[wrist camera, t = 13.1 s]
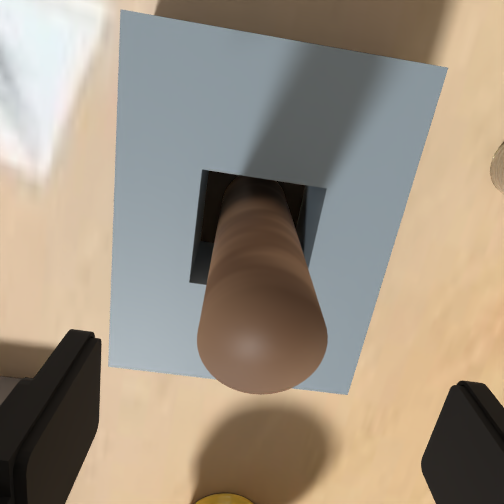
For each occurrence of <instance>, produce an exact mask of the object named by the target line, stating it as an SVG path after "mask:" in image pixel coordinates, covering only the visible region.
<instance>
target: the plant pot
mask: <svg viewBox="0 0 504 504" xmlns="http://www.w3.org/2000/svg"><path fill="white" fill-rule="evenodd" d="M195 504H253V503H252V502H251V501H250V500H248V499H246V498H244V497H242V496H240V495H236V494H230V493H220V494H214V495H210V496H207V497H205V498H202V499H201V500H199V501H198V502H196V503H195Z"/></svg>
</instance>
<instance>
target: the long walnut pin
mask: <svg viewBox="0 0 504 504" xmlns="http://www.w3.org/2000/svg"><path fill="white" fill-rule="evenodd" d="M327 343H328V334H327V328H326V324H325V321H324V318H323V314H322V311H321V308H320V305H319V302H318V299H317V295H316V292H315V289H314V286H313V283H312V280H311V277H310V273H309V270H308V267H307V264H306V261H305V258H304V254H303V251H302V248H301V245H300V242H299V239H298V236H297V232H296V229H295V226H294V223H293V220H292V217H291V213H290V210H289V207H288V204H287V201H286V198H285V195H284V192H283V190H282V188H281V186H280V185H279V184H278V182H277V181H275V180H268V179H262V178H255V177H249V176H242V175H241V176H239V177H237V178H235V179H234V180H233V181H232V182H231V183H230V184H229V185H228V187H227V188H226V190H225V192H224V195H223V200H222V205H221V210H220V216H219V221H218V226H217V232H216V237H215V242H214V247H213V253H212V258H211V263H210V269H209V274H208V279H207V285H206V290H205V295H204V301H203V306H202V311H201V316H200V322H199V327H198V332H197V348H198V352H199V356H200V358H201V360H202V363H203V364H204V366H205V367H206V369H207V370H208V371H209V372H210V374H211V375H212V376H213V377H215V378H216V379H217V380H218V381H220V382H221V383H222V384H224V385H226V386H228V387H230V388H232V389H235V390H237V391H241V392H244V393H250V394H272V393H278V392H282V391H285V390H288V389H290V388H293V387H295V386H297V385H299V384H300V383H302V382H303V381H305V380H306V379H307V378H308V377H310V376H311V375H312V374H313V373H314V372H315V370H316V369H317V368H318V366H319V365H320V364H321V362H322V360H323V358H324V355H325V352H326V349H327Z"/></svg>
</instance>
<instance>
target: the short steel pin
mask: <svg viewBox="0 0 504 504" xmlns="http://www.w3.org/2000/svg"><path fill="white" fill-rule="evenodd" d="M490 174H491V179H492V182H493V184H494V186H495V187H496V188H497V189H498V190H499V191H500V192H502V193H504V143H503V144H502V145H501V146H500V147H499V148H498V150H497V151H496V153H495V155H494V157H493V159H492V162H491V167H490Z"/></svg>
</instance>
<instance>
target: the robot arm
mask: <svg viewBox="0 0 504 504" xmlns="http://www.w3.org/2000/svg"><path fill="white" fill-rule="evenodd" d="M100 372H101V339H98V338H95V335H94V333H93V332H89V331H81V330H74V329H71V330H69V331H68V332H67V334H66V335H65V337H64V338H63V339H62V341H61V342H60V343H59V345H58V346H57V347H56V349H55V350H54V351H53V353H52V354H51V356H50V357H49V358H48V360H47V361H46V362H45V364H44V365H43V366H42V368H41V369H40V371H39V372H38V373H37V375H36V376H35V377H34V378H26V377H25V378H23V379H21V380H20V381H19V382H18V383H17V385H16V386H15V387H14V388H13V390H12V391H11V392H10V394H9V395H8V396H7V397H6V399H5V400H4V401H3V403H2V404H1V405H0V504H65V503H66V500H67V498H68V496H69V494H70V491H71V489H72V487H73V484H74V482H75V480H76V478H77V475H78V473H79V471H80V469H81V466H82V464H83V462H84V460H85V457H86V455H87V453H88V451H89V448H90V446H91V444H92V442H93V439H94V437H95V435H96V432H97V428H98V423H99V403H100ZM421 468H422V472H423V475H424V477H425V480H426V482H427V484H428V487H429V489H430V491H431V493H432V496H433V498H434V500H435V502H436V504H504V408H503V406H502V405H501V404H500V402H499V401H498V400H497V399H496V397H495V396H494V395H493V394H492V392H491V391H490V390H489V388H488V387H487V386H486V385H485V384H483V383H477V382H470V381H459V382H458V383H457V385H453V386H452V387H451V388H450V391H449V393H448V395H447V398H446V400H445V403H444V405H443V408H442V410H441V413H440V415H439V418H438V420H437V423H436V425H435V427H434V430H433V432H432V435H431V437H430V440H429V442H428V445H427V447H426V450H425V452H424V455H423V457H422V461H421Z"/></svg>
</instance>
